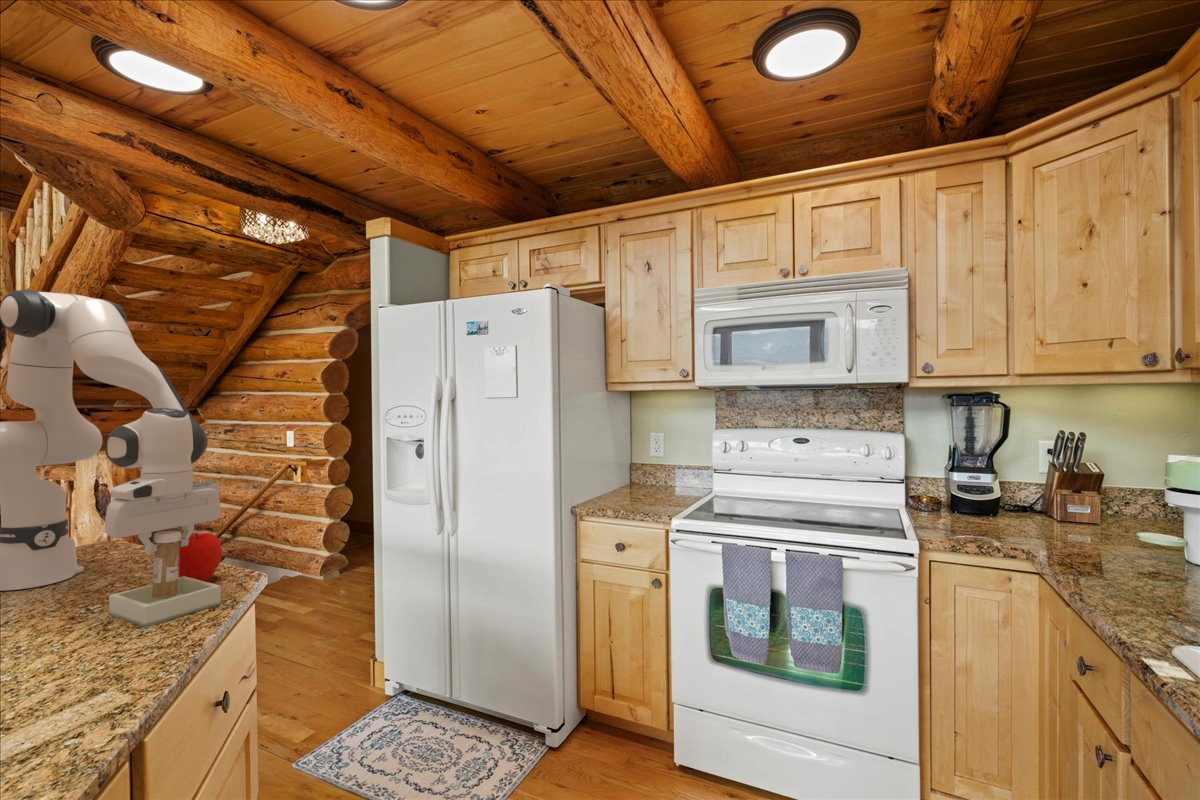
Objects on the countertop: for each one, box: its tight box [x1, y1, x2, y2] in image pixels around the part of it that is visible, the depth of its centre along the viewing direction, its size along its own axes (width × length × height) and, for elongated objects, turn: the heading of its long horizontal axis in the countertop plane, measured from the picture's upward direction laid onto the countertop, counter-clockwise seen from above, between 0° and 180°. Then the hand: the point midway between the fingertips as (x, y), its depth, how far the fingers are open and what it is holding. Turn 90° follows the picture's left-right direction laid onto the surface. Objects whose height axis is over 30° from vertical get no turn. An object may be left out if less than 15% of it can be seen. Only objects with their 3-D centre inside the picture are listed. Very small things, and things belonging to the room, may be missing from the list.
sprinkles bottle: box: [152, 530, 182, 599], centre depth 118 cm, size 5×5×13 cm
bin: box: [108, 576, 222, 628], centre depth 118 cm, size 14×14×4 cm
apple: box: [178, 532, 223, 582], centre depth 136 cm, size 10×10×12 cm
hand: (167, 549), depth 118 cm, fingers closed on sprinkles bottle, 4 cm apart
